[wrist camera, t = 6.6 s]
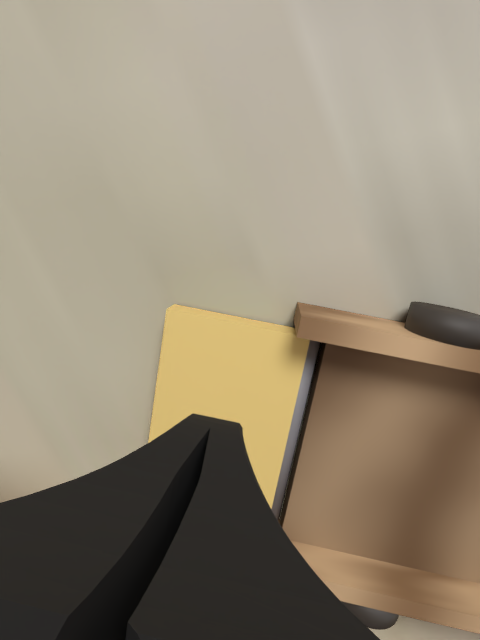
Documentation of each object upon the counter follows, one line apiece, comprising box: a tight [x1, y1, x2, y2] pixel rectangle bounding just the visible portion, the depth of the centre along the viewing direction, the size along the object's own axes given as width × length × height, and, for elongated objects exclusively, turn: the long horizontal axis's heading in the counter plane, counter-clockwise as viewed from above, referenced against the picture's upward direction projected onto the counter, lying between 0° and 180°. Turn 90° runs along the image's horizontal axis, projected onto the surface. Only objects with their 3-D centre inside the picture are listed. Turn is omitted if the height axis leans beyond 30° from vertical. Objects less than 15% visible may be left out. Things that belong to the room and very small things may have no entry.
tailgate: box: [148, 304, 320, 520], centre depth 17 cm, size 1×10×6 cm
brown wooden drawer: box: [278, 302, 480, 634], centre depth 15 cm, size 15×14×5 cm
